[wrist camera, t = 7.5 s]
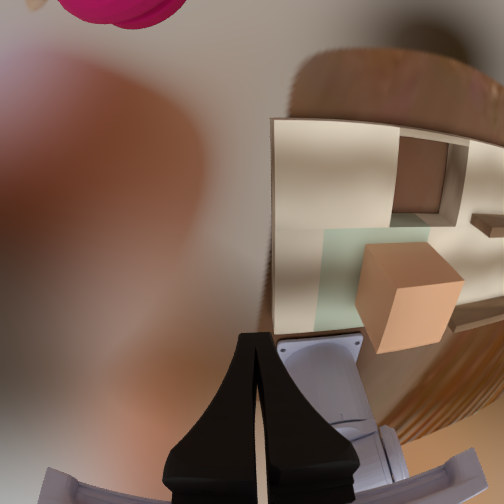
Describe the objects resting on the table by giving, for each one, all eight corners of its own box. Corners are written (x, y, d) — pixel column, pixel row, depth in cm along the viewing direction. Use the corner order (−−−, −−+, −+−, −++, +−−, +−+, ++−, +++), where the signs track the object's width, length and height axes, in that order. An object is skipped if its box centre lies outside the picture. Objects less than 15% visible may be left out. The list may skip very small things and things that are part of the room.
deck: (500, 286, 24) (512, 298, 22) (271, 313, 24) (274, 334, 22) (534, 156, 17) (551, 164, 15) (269, 117, 17) (273, 120, 15)
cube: (411, 298, 21) (439, 341, 16) (354, 304, 21) (376, 354, 16) (426, 241, 18) (464, 280, 14) (365, 243, 18) (397, 288, 14)
